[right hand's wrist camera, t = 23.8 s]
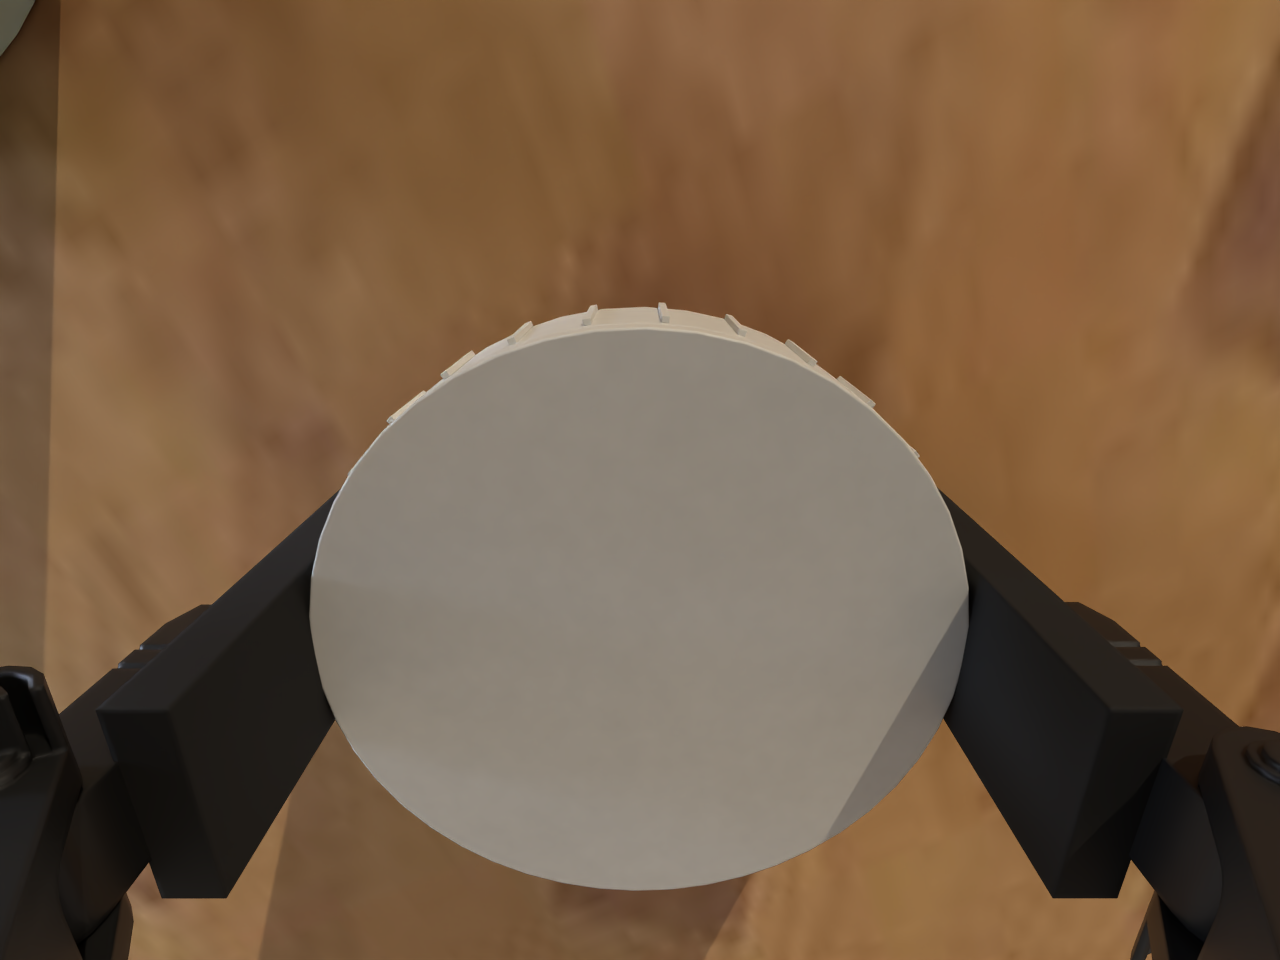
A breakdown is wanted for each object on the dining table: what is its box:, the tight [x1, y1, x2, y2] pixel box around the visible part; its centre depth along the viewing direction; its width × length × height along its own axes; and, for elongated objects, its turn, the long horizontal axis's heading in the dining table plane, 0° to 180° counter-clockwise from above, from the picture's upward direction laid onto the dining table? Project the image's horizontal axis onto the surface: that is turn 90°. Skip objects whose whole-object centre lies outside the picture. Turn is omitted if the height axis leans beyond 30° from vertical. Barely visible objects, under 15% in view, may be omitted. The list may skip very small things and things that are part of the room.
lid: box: [309, 302, 969, 891], centre depth 11 cm, size 10×10×2 cm
